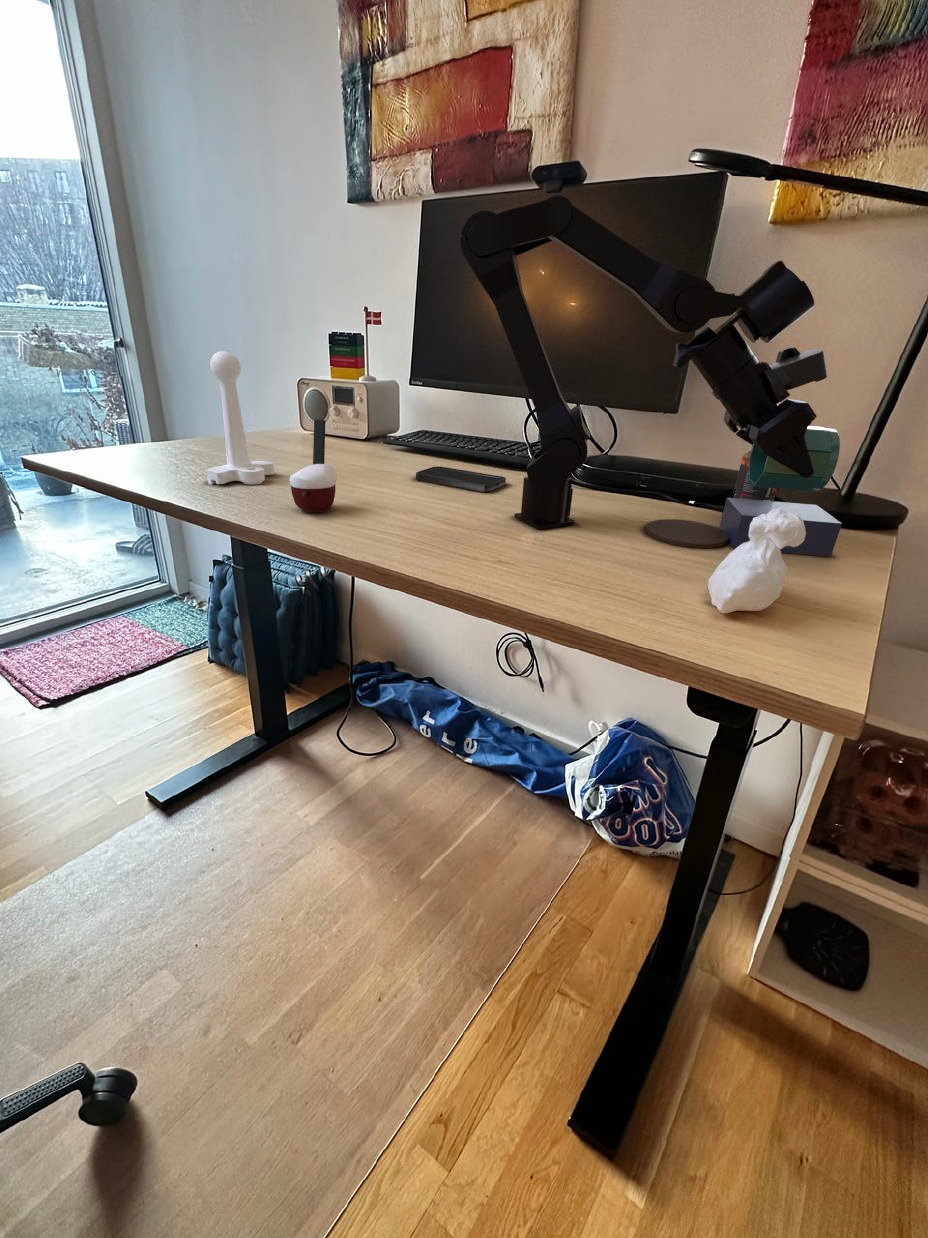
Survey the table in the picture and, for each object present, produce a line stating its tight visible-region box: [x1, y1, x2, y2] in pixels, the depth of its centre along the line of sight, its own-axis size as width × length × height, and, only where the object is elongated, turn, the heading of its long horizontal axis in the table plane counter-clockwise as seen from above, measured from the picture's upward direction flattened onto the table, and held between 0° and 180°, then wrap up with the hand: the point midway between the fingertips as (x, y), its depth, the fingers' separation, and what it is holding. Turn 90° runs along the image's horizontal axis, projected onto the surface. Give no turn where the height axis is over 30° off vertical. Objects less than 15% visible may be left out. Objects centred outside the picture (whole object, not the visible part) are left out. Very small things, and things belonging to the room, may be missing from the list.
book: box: [718, 497, 843, 558], centre depth 79 cm, size 12×9×4 cm
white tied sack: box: [707, 508, 806, 614], centre depth 58 cm, size 12×8×11 cm
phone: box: [415, 465, 507, 493], centre depth 103 cm, size 8×1×15 cm
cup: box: [748, 425, 841, 492], centre depth 75 cm, size 8×8×8 cm
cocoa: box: [288, 418, 338, 513], centre depth 83 cm, size 10×6×12 cm, turn 153°
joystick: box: [205, 350, 276, 486], centre depth 94 cm, size 11×8×20 cm
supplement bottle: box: [732, 445, 778, 502], centre depth 90 cm, size 6×6×11 cm
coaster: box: [645, 518, 729, 549], centre depth 81 cm, size 11×11×1 cm
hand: (799, 468), depth 75 cm, fingers closed on cup, 7 cm apart
